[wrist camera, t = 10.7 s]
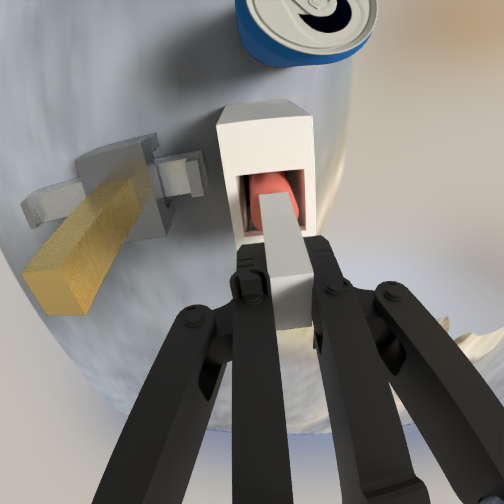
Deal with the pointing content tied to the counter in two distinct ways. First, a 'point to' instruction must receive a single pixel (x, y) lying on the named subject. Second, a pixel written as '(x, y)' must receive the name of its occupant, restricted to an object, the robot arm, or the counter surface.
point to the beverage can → (304, 29)
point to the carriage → (100, 225)
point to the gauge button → (268, 192)
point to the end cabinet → (267, 159)
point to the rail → (72, 194)
